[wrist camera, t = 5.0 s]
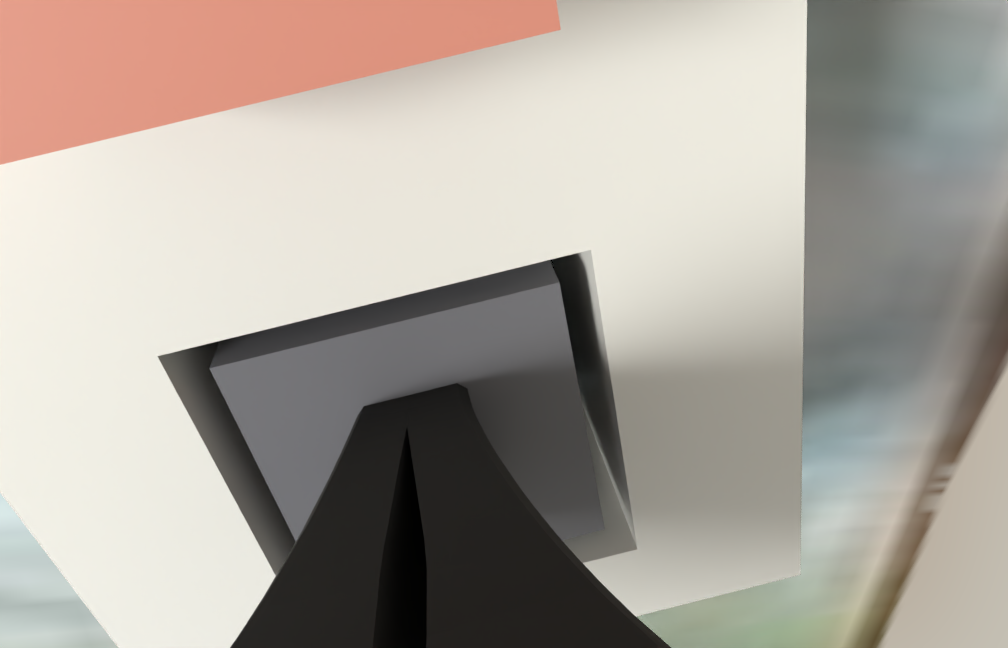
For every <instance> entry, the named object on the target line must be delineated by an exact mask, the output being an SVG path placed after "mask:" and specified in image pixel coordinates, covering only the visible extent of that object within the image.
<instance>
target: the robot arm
mask: <svg viewBox="0 0 1008 648" xmlns="http://www.w3.org/2000/svg"><path fill="white" fill-rule="evenodd" d="M230 648H671V647H670V646H669V645H668V644H666V643H665V642H664V641H663V640H662V639H661V638H659V637H658V636H657V635H656V634H655V633H654V632H653V631H651V630H650V629H649V628H648V627H647V626H646V625H645V624H643V623H642V622H641V621H640V620H639V619H638V618H637V617H636V616H635V615H634V614H633V613H631V612H630V611H629V610H628V609H627V608H626V607H625V606H624V605H623V604H622V603H621V602H620V601H619V600H618V599H617V598H616V597H615V596H614V595H613V594H612V593H611V592H610V591H609V590H608V589H607V588H606V587H605V586H604V585H603V584H602V583H601V582H600V581H599V580H598V579H597V578H596V577H595V576H594V575H593V574H592V573H591V571H590V570H589V569H588V568H587V567H586V566H585V565H584V564H583V563H582V562H581V561H580V560H579V559H578V558H577V557H576V556H575V554H574V553H573V552H572V551H571V550H570V549H569V548H568V547H567V545H566V544H565V543H564V542H563V541H562V540H561V539H560V537H559V536H558V535H557V534H556V533H555V532H554V530H553V529H552V528H551V527H550V525H549V524H548V523H547V522H546V520H545V519H544V518H543V517H542V516H541V514H540V513H539V512H538V511H537V509H536V508H535V507H534V506H533V504H532V503H531V502H530V500H529V499H528V498H527V496H526V495H525V494H524V492H523V491H522V490H521V488H520V487H519V486H518V484H517V483H516V481H515V480H514V478H513V477H512V475H511V474H510V472H509V471H508V469H507V468H506V467H505V465H504V464H503V462H502V461H501V459H500V458H499V456H498V455H497V453H496V451H495V450H494V448H493V447H492V445H491V443H490V442H489V440H488V438H487V436H486V434H485V432H484V431H483V429H482V427H481V425H480V423H479V421H478V419H477V417H476V415H475V412H474V410H473V407H472V403H471V400H470V396H469V393H468V389H467V388H465V387H463V386H462V385H460V384H458V383H455V384H451V385H447V386H443V387H439V388H435V389H432V390H428V391H424V392H420V393H416V394H412V395H408V396H404V397H400V398H396V399H391V400H387V401H383V402H379V403H375V404H371V405H367V406H364V407H363V408H362V410H361V411H360V413H359V414H358V416H357V418H356V420H355V423H354V425H353V427H352V429H351V432H350V434H349V436H348V438H347V441H346V443H345V445H344V447H343V449H342V452H341V454H340V456H339V458H338V460H337V462H336V464H335V466H334V469H333V471H332V473H331V475H330V477H329V479H328V481H327V483H326V485H325V487H324V489H323V491H322V493H321V495H320V497H319V499H318V501H317V503H316V505H315V507H314V508H313V510H312V512H311V514H310V516H309V518H308V520H307V522H306V524H305V526H304V528H303V530H302V531H301V533H300V535H299V537H298V539H297V541H296V542H295V544H294V546H293V547H292V549H291V551H290V553H289V554H288V556H287V558H286V559H285V561H284V563H283V564H282V566H281V568H280V570H279V571H278V573H277V575H276V576H275V578H274V580H273V582H272V583H271V585H270V587H269V588H268V590H267V592H266V593H265V595H264V597H263V598H262V600H261V601H260V603H259V605H258V606H257V608H256V609H255V611H254V612H253V614H252V616H251V617H250V619H249V620H248V622H247V623H246V625H245V626H244V628H243V629H242V631H241V632H240V634H239V635H238V637H237V638H236V640H235V641H234V643H233V644H232V646H231V647H230Z"/></svg>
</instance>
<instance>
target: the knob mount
mask: <svg viewBox="0 0 1008 648" xmlns="http://www.w3.org/2000/svg"><path fill="white" fill-rule="evenodd" d="M556 2H557V8H558V15H559V21H560V28H561V30H558V31H554V32H550V33H545V34H541V35H537V36H533V37H529V38H525V39H520V40H516V41H512V42H508V43H504V44H500V45H496V46H491V47H487V48H483V49H479V50H475V51H471V52H467V53H462V54H458V55H454V56H450V57H446V58H442V59H437V60H433V61H429V62H425V63H421V64H417V65H413V66H408V67H404V68H400V69H396V70H392V71H388V72H383V73H379V74H375V75H371V76H367V77H363V78H359V79H354V80H350V81H346V82H342V83H338V84H334V85H330V86H325V87H321V88H317V89H313V90H309V91H305V92H300V93H296V94H292V95H288V96H284V97H280V98H276V99H271V100H267V101H263V102H259V103H255V104H251V105H246V106H242V107H238V108H234V109H230V110H226V111H222V112H217V113H213V114H209V115H205V116H201V117H197V118H193V119H188V120H184V121H180V122H176V123H172V124H168V125H163V126H159V127H155V128H151V129H147V130H143V131H139V132H134V133H130V134H126V135H122V136H118V137H114V138H109V139H105V140H101V141H97V142H93V143H89V144H85V145H80V146H76V147H72V148H68V149H64V150H60V151H55V152H51V153H47V154H43V155H39V156H35V157H31V158H26V159H22V160H18V161H14V162H10V163H6V164H2V165H0V493H1V494H2V496H3V497H4V498H5V500H6V501H7V502H8V503H9V505H10V506H11V507H12V509H13V510H14V511H15V513H16V514H17V515H18V517H19V518H20V519H21V521H22V522H23V523H24V525H25V526H26V527H27V528H28V530H29V531H30V532H31V534H32V535H33V536H34V538H35V539H36V540H37V542H38V543H39V544H40V546H41V547H42V548H43V549H44V551H45V552H46V553H47V555H48V556H49V557H50V559H51V560H52V561H53V563H54V564H55V565H56V567H57V568H58V569H59V571H60V572H61V573H62V574H63V576H64V577H65V578H66V580H67V581H68V582H69V584H70V585H71V586H72V588H73V589H74V590H75V592H76V593H77V594H78V595H79V597H80V598H81V599H82V601H83V602H84V603H85V605H86V606H87V607H88V609H89V610H90V611H91V613H92V614H93V615H94V617H95V618H96V619H97V620H98V622H99V623H100V624H101V626H102V627H103V628H104V630H105V631H106V632H107V634H108V635H109V636H110V638H111V639H112V640H113V641H114V643H115V644H116V645H117V647H118V648H230V647H231V646H232V644H233V643H234V641H235V640H236V638H237V637H238V635H239V634H240V632H241V631H242V629H243V628H244V626H245V625H246V623H247V622H248V620H249V619H250V617H251V616H252V614H253V612H254V611H255V609H256V608H257V606H258V605H259V603H260V601H261V600H262V598H263V597H264V595H265V593H266V592H267V590H268V588H269V587H270V585H271V583H272V582H273V580H274V578H275V576H276V575H277V573H278V571H279V570H280V568H281V566H282V564H283V563H284V561H285V559H286V558H287V556H288V554H289V553H290V551H291V549H292V547H293V546H294V544H295V542H296V541H295V539H294V537H293V535H292V533H291V531H290V529H289V527H288V525H287V523H286V521H285V519H284V517H283V515H282V513H281V511H280V509H279V507H278V505H277V503H276V501H275V499H274V497H273V495H272V493H271V491H270V489H269V487H268V485H267V483H266V481H265V479H264V477H263V475H262V473H261V471H260V469H259V467H258V465H257V463H256V461H255V459H254V457H253V455H252V453H251V451H250V449H249V447H248V445H247V443H246V441H245V439H244V437H243V435H242V433H241V431H240V429H239V427H238V425H237V423H236V421H235V419H234V417H233V415H232V413H231V411H230V409H229V407H228V405H227V403H226V401H225V399H224V397H223V395H222V393H221V391H220V389H219V387H218V385H217V383H216V381H215V379H214V377H213V375H212V373H211V371H210V369H209V368H210V365H211V363H212V360H213V357H214V354H215V351H216V348H217V346H218V343H219V341H221V340H226V339H230V338H234V337H238V336H242V335H246V334H250V333H254V332H258V331H262V330H266V329H270V328H274V327H278V326H283V325H287V324H291V323H295V322H299V321H303V320H307V319H311V318H315V317H319V316H323V315H327V314H331V313H335V312H339V311H344V310H348V309H352V308H356V307H360V306H364V305H368V304H372V303H376V302H380V301H384V300H388V299H392V298H396V297H401V296H405V295H409V294H413V293H417V292H421V291H425V290H429V289H433V288H437V287H441V286H445V285H449V284H453V283H458V282H462V281H466V280H470V279H474V278H478V277H482V276H486V275H490V274H494V273H498V272H502V271H506V270H510V269H515V268H519V267H523V266H527V265H531V264H535V263H539V262H543V261H547V260H551V259H553V263H554V269H555V273H556V276H557V278H558V280H559V283H560V288H561V294H562V299H563V304H564V310H565V315H566V321H567V326H568V332H569V337H570V342H571V348H572V353H573V359H574V364H575V369H576V375H577V380H578V386H579V391H580V397H581V402H582V407H583V413H584V418H585V424H586V429H587V435H588V440H589V445H590V451H591V456H592V462H593V467H594V472H595V478H596V483H597V489H598V494H599V500H600V505H601V510H602V516H603V521H604V527H605V529H604V530H601V531H597V532H593V533H589V534H585V535H581V536H577V537H573V538H569V539H565V540H562V541H563V542H564V543H565V544H566V545H567V547H568V548H569V549H570V550H571V551H572V552H573V553H574V554H575V556H576V557H577V558H578V559H579V560H580V561H581V562H582V563H583V564H584V565H585V566H586V567H587V568H588V569H589V570H590V571H591V573H592V574H593V575H594V576H595V577H596V578H597V579H598V580H599V581H600V582H601V583H602V584H603V585H604V586H605V587H606V588H607V589H608V590H609V591H610V592H611V593H612V594H613V595H614V596H615V597H616V598H617V599H618V600H619V601H620V602H621V603H622V604H623V605H624V606H625V607H626V608H627V609H628V610H629V611H630V612H631V613H633V614H634V615H635V616H640V615H644V614H648V613H652V612H656V611H660V610H664V609H668V608H672V607H676V606H680V605H684V604H687V603H691V602H695V601H699V600H703V599H707V598H711V597H715V596H719V595H723V594H727V593H731V592H735V591H739V590H743V589H747V588H751V587H754V586H758V585H762V584H766V583H770V582H774V581H778V580H782V579H786V578H790V577H794V576H798V575H801V489H802V402H803V315H804V228H805V141H806V54H807V0H556Z"/></svg>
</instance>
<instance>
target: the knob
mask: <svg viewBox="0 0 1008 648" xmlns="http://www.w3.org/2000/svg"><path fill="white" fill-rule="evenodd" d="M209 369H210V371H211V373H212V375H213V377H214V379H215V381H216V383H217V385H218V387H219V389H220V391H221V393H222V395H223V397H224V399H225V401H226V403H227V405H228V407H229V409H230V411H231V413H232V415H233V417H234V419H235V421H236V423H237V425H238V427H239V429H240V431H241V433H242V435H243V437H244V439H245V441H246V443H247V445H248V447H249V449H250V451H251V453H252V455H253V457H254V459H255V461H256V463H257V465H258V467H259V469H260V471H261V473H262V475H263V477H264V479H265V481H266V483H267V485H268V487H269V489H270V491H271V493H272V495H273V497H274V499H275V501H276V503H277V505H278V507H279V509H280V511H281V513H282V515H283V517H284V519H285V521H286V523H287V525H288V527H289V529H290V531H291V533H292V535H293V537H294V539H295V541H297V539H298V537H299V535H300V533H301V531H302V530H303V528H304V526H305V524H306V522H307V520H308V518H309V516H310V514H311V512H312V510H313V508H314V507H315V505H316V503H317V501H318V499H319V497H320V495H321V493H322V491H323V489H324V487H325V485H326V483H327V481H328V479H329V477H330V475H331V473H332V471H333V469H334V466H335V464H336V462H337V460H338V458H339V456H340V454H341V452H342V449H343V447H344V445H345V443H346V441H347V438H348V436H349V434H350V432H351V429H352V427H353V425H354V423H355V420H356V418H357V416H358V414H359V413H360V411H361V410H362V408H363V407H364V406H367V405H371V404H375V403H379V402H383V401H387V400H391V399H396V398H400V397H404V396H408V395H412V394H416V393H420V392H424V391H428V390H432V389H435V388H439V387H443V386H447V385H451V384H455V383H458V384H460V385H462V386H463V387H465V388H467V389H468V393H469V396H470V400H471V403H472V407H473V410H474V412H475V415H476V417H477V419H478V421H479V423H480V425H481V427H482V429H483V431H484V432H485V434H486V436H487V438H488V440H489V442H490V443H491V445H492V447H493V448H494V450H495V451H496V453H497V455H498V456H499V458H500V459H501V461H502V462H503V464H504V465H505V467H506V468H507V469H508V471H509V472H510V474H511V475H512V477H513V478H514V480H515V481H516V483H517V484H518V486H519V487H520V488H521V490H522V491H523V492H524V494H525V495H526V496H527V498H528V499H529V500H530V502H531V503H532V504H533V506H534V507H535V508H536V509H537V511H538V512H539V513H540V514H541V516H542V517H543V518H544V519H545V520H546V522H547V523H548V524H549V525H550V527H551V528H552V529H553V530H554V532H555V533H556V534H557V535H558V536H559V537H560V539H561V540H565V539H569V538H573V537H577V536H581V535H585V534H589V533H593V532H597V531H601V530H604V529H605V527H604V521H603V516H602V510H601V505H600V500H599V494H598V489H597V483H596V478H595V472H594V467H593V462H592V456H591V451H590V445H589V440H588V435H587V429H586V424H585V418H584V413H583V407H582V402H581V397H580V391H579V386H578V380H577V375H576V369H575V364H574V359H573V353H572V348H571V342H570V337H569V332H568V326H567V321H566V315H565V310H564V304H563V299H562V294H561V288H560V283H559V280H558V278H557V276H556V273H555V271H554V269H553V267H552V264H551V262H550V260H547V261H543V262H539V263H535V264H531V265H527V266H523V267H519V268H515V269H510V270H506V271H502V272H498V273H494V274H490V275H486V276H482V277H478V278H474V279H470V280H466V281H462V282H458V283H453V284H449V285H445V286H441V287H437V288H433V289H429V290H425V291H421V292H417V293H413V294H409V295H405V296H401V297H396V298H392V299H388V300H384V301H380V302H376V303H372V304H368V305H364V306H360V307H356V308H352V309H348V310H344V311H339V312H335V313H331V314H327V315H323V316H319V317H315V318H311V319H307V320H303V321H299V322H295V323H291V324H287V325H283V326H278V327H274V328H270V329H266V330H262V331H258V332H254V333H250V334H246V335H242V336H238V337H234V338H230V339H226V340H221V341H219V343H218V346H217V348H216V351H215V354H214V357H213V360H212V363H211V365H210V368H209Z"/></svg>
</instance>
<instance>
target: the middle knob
mask: <svg viewBox="0 0 1008 648" xmlns="http://www.w3.org/2000/svg"><path fill="white" fill-rule="evenodd" d="M558 30H561V28H560V21H559V15H558V8H557V2H556V0H0V165H2V164H6V163H10V162H14V161H18V160H22V159H26V158H31V157H35V156H39V155H43V154H47V153H51V152H55V151H60V150H64V149H68V148H72V147H76V146H80V145H85V144H89V143H93V142H97V141H101V140H105V139H109V138H114V137H118V136H122V135H126V134H130V133H134V132H139V131H143V130H147V129H151V128H155V127H159V126H163V125H168V124H172V123H176V122H180V121H184V120H188V119H193V118H197V117H201V116H205V115H209V114H213V113H217V112H222V111H226V110H230V109H234V108H238V107H242V106H246V105H251V104H255V103H259V102H263V101H267V100H271V99H276V98H280V97H284V96H288V95H292V94H296V93H300V92H305V91H309V90H313V89H317V88H321V87H325V86H330V85H334V84H338V83H342V82H346V81H350V80H354V79H359V78H363V77H367V76H371V75H375V74H379V73H383V72H388V71H392V70H396V69H400V68H404V67H408V66H413V65H417V64H421V63H425V62H429V61H433V60H437V59H442V58H446V57H450V56H454V55H458V54H462V53H467V52H471V51H475V50H479V49H483V48H487V47H491V46H496V45H500V44H504V43H508V42H512V41H516V40H520V39H525V38H529V37H533V36H537V35H541V34H545V33H550V32H554V31H558Z"/></svg>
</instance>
